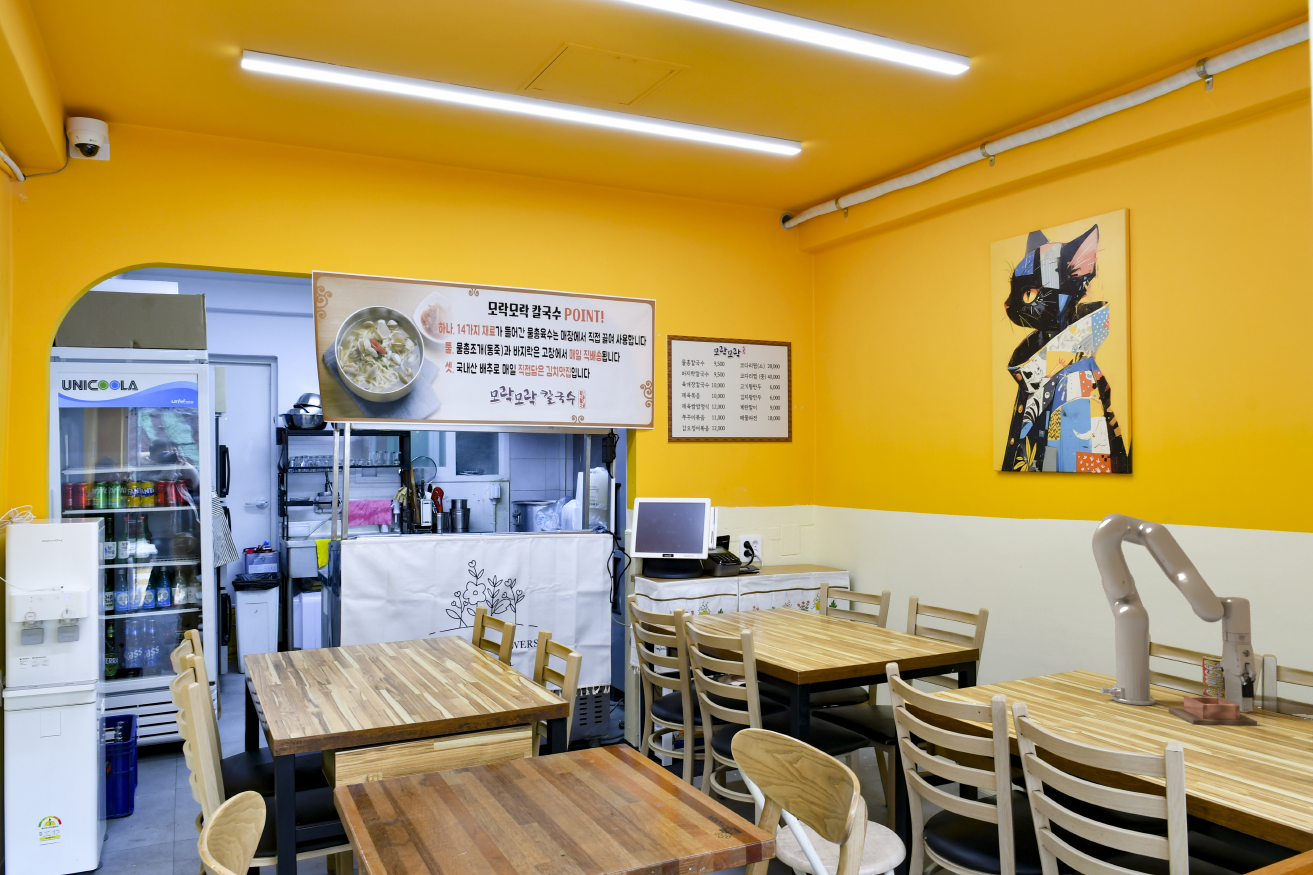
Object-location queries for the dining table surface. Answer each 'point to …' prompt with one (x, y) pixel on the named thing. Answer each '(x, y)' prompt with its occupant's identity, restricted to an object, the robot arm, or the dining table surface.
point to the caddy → (1211, 712)
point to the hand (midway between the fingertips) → (1238, 693)
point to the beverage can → (1212, 676)
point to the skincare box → (1236, 691)
